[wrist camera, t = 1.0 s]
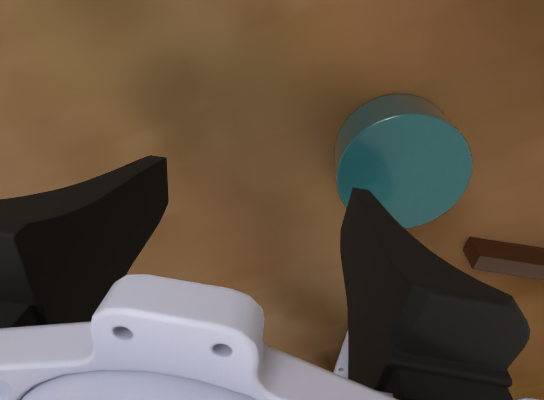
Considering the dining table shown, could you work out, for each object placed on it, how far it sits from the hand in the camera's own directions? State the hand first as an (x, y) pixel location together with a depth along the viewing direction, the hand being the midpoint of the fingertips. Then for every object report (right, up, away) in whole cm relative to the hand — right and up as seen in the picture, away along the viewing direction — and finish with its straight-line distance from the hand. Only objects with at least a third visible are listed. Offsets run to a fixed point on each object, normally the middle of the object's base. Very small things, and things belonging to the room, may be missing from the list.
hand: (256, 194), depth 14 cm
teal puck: (+8, +3, +8) cm, 12 cm away
